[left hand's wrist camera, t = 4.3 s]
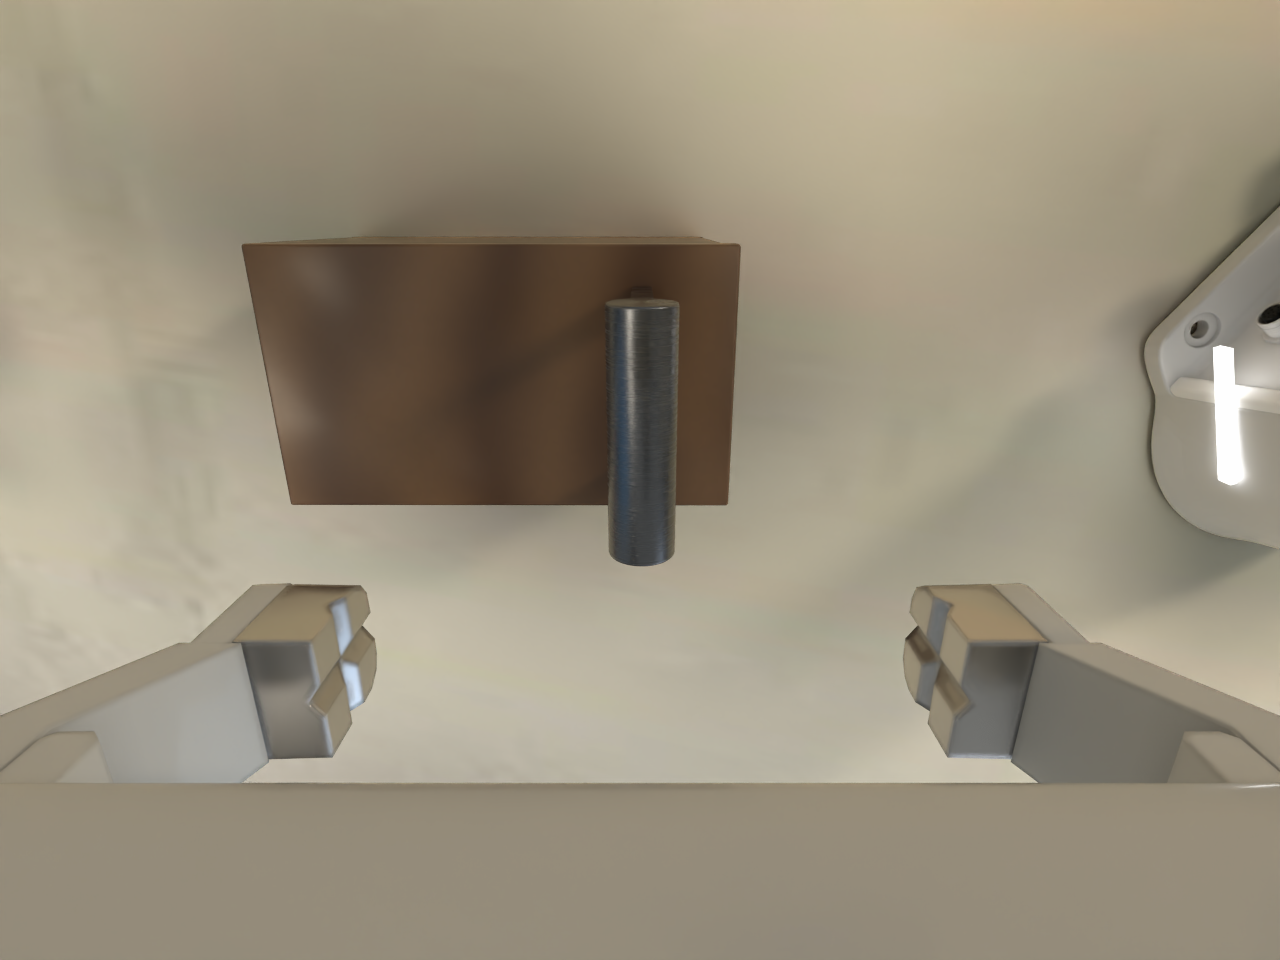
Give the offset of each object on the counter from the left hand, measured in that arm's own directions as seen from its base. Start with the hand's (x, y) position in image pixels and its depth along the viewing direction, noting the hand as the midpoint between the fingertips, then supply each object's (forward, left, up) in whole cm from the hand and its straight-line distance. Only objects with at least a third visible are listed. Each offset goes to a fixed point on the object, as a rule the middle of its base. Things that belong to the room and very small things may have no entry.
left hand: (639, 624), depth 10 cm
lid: (+2, -5, -17) cm, 18 cm away
